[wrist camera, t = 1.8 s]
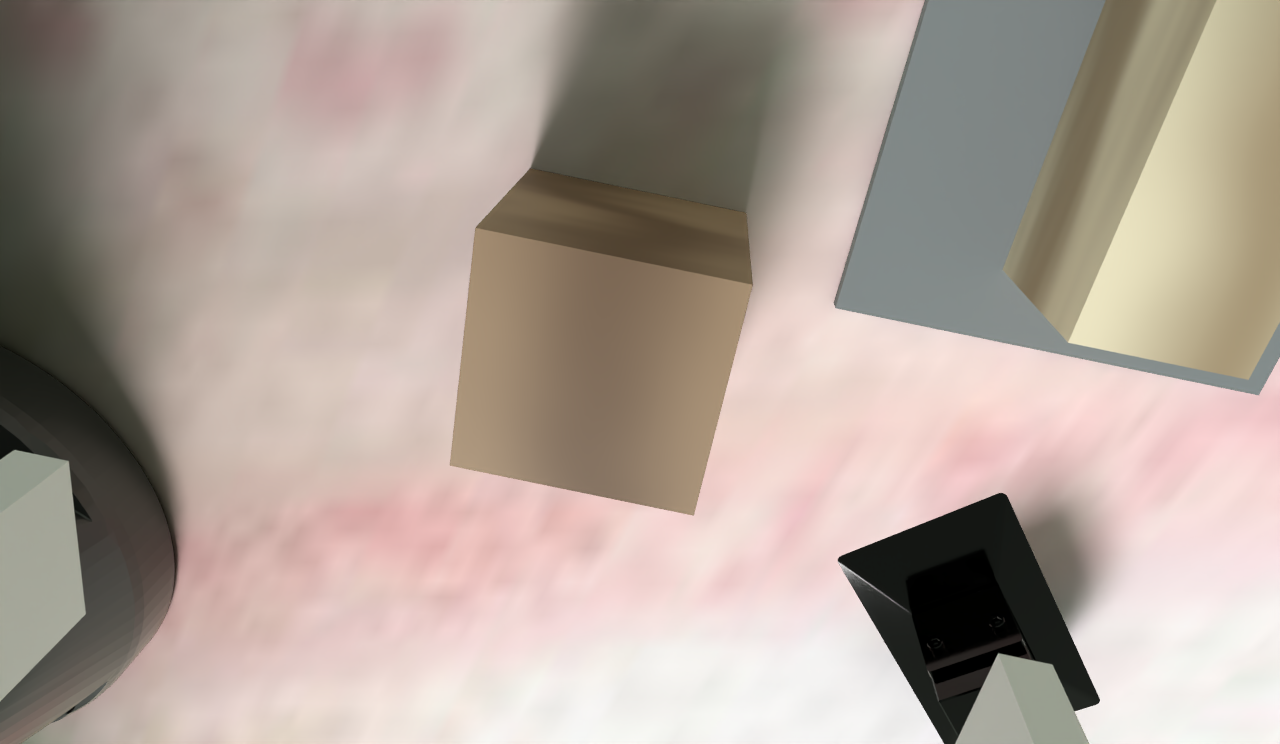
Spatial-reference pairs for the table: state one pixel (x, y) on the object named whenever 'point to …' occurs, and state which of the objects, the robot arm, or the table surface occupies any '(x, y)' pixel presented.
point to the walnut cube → (600, 339)
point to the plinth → (1164, 188)
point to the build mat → (978, 178)
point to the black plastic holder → (964, 608)
